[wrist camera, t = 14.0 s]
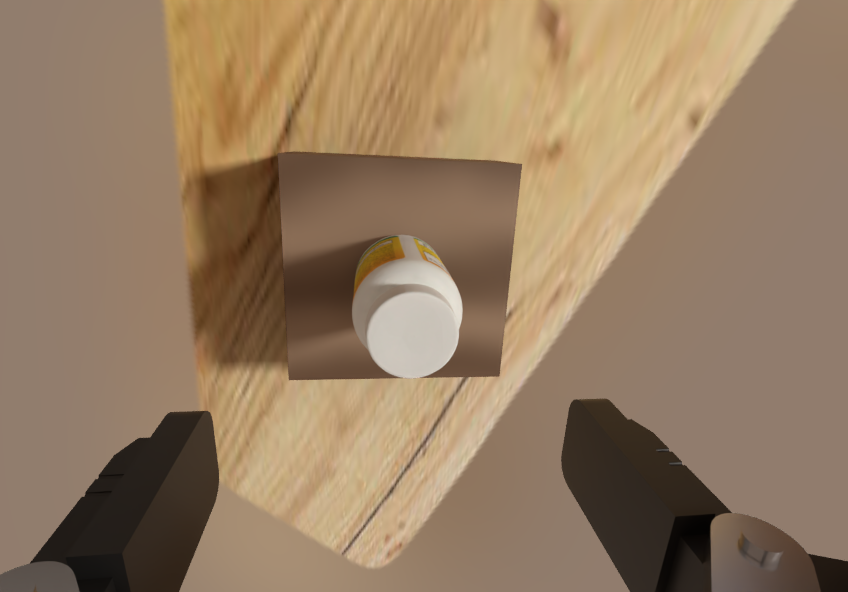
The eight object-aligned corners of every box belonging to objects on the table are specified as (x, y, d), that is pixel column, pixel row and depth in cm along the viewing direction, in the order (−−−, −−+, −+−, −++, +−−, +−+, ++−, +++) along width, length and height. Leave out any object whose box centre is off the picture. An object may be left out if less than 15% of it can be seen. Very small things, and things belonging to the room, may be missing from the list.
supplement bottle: (448, 239, 28) (487, 283, 19) (434, 320, 30) (465, 397, 21) (359, 227, 27) (357, 268, 18) (350, 312, 29) (343, 388, 20)
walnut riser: (293, 151, 31) (277, 153, 25) (494, 160, 33) (521, 164, 27) (300, 342, 35) (288, 380, 30) (478, 341, 37) (499, 376, 32)
